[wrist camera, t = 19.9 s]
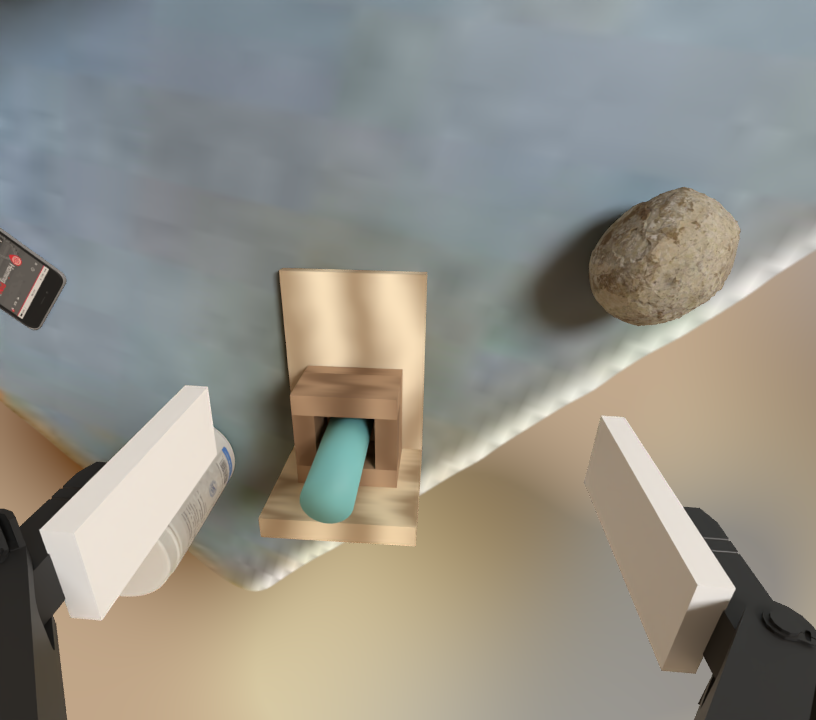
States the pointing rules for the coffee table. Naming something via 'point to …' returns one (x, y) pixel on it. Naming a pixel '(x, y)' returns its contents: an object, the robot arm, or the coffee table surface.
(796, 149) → the coffee table surface
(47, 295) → the smartphone
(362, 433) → the dowel
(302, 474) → the block
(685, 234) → the decorative stone
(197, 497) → the supplement tub
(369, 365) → the jig
